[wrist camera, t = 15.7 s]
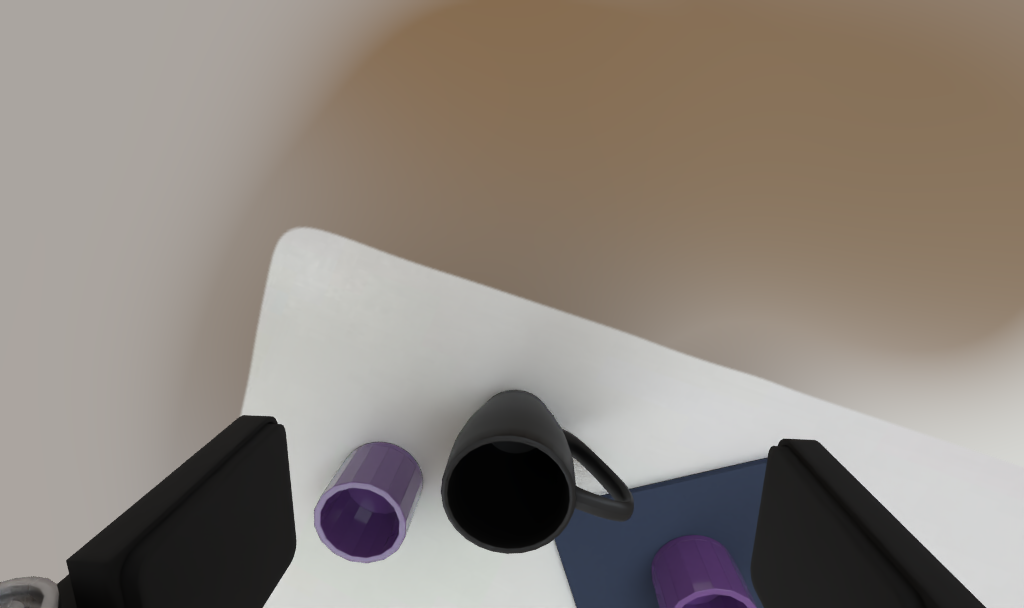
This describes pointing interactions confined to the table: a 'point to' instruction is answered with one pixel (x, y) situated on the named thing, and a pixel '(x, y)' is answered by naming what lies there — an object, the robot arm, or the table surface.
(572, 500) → the mug
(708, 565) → the ramekin
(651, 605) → the placemat
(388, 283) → the table surface
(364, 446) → the ramekin
